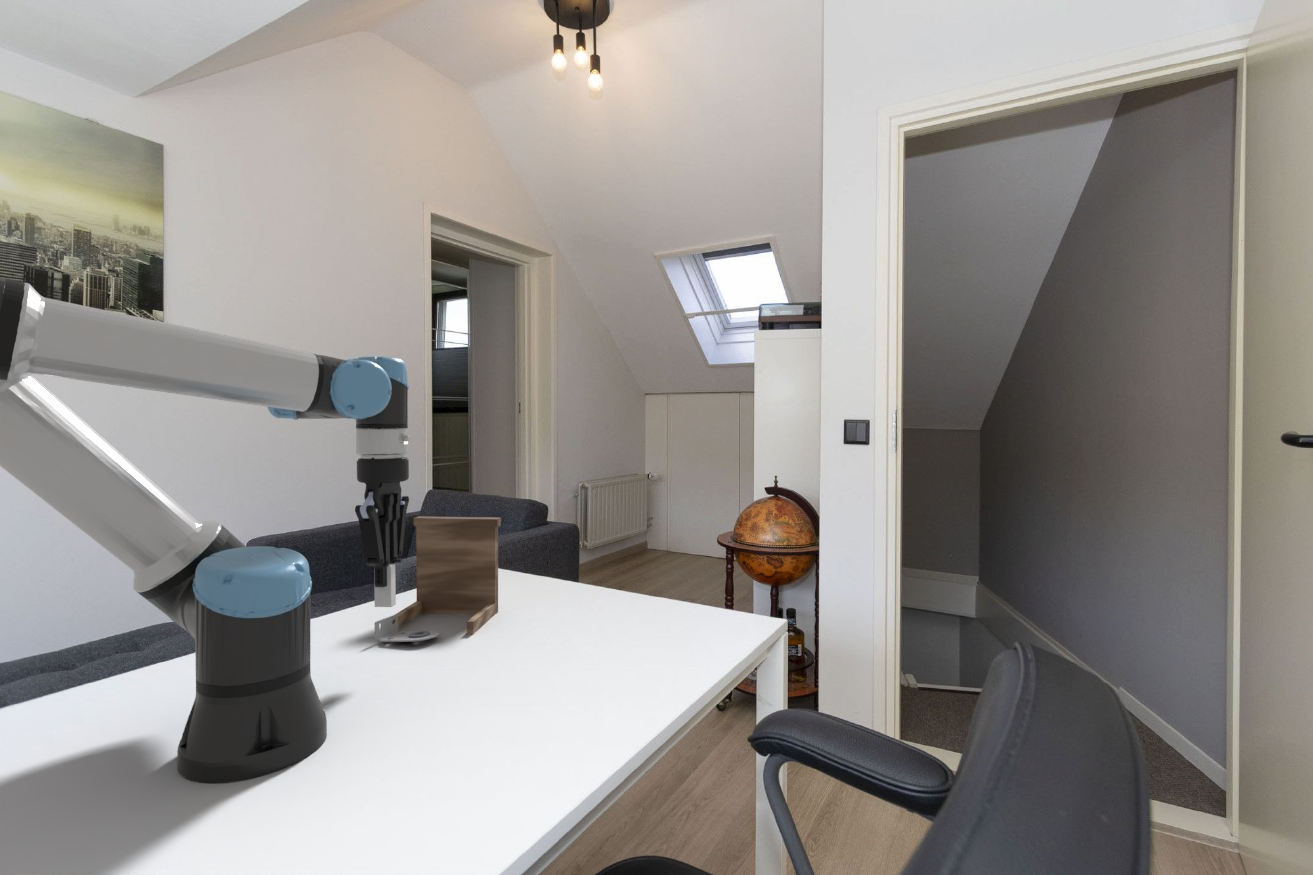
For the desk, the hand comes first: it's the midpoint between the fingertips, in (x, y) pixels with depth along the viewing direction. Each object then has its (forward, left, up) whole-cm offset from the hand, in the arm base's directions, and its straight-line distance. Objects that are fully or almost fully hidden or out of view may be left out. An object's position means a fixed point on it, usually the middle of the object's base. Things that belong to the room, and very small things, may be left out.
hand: (385, 605), depth 102 cm
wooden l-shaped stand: (+23, 0, -10) cm, 25 cm away
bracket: (+10, 0, -11) cm, 15 cm away
